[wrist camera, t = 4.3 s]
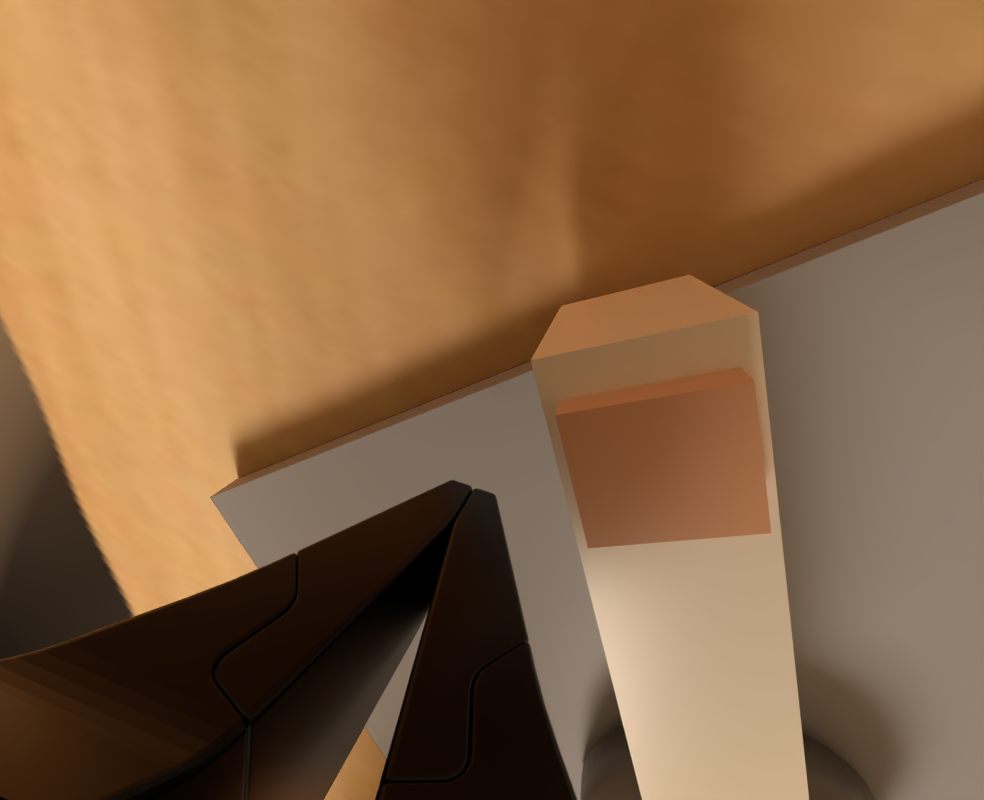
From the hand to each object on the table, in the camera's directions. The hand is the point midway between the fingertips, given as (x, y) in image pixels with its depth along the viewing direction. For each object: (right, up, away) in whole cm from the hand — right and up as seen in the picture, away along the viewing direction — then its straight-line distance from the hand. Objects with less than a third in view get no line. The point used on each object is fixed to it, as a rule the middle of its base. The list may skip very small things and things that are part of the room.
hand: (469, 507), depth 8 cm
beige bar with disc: (+5, -4, +2) cm, 7 cm away
